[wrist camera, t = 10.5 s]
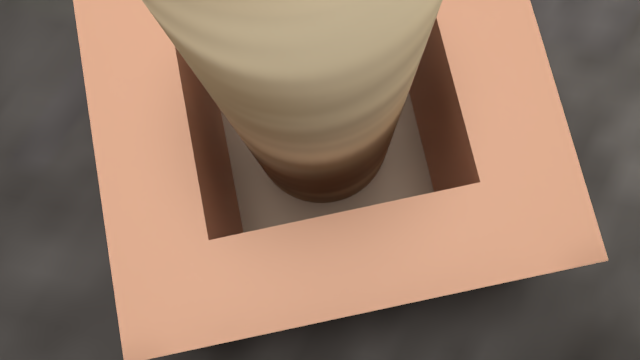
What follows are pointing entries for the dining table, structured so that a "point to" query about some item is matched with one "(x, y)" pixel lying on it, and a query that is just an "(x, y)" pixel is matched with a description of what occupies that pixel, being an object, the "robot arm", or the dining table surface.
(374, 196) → the socket block
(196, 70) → the birch dowel
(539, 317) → the dining table surface
